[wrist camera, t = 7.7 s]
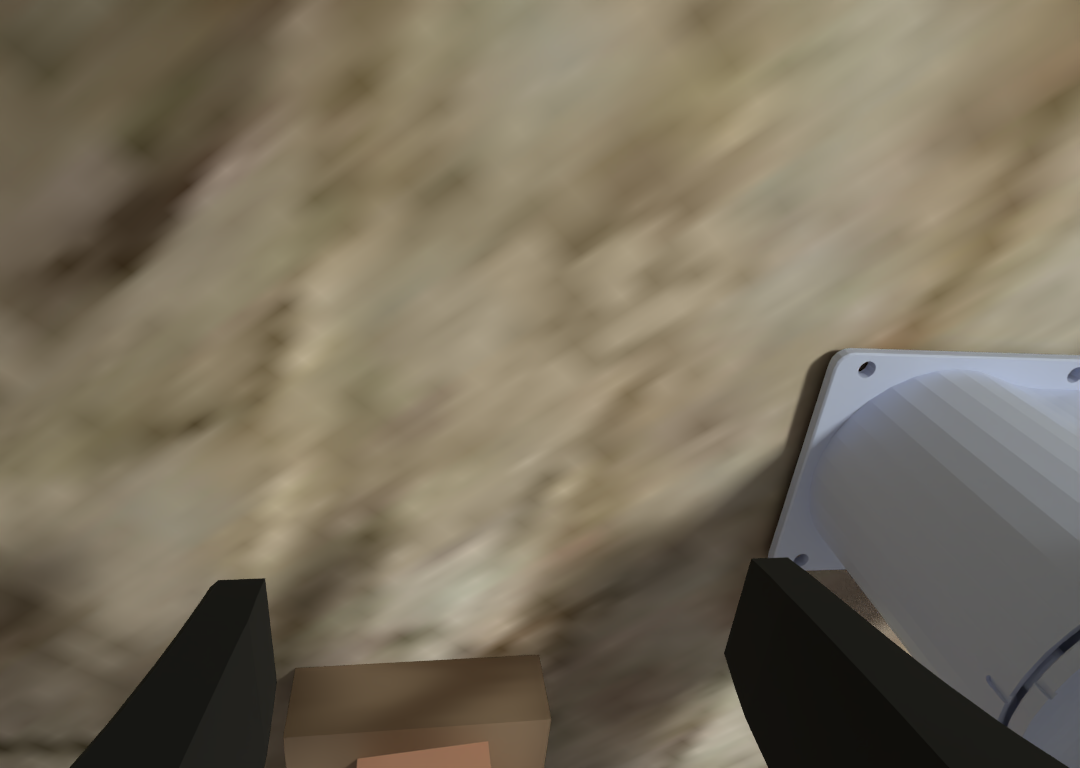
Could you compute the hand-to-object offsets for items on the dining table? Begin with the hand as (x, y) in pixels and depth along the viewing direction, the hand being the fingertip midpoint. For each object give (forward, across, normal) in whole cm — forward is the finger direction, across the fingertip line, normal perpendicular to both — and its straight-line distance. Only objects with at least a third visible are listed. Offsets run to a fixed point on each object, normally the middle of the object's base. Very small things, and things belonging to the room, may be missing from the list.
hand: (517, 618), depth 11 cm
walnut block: (+10, +1, +16) cm, 18 cm away
